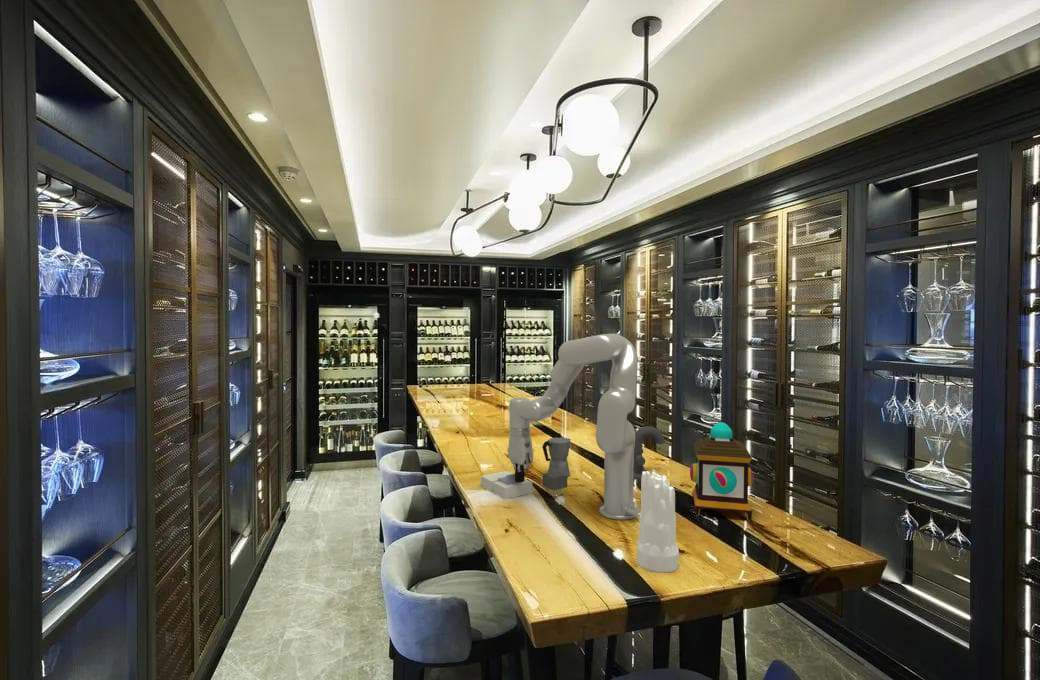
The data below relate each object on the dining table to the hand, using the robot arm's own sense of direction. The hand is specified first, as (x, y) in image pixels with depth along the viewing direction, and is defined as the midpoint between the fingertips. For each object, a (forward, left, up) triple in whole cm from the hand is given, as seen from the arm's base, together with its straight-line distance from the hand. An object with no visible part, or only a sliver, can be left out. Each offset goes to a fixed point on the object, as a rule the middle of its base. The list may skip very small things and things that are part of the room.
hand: (519, 481), depth 193 cm
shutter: (+6, 0, -1) cm, 7 cm away
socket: (+9, 0, -6) cm, 11 cm away
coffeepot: (+12, -26, -6) cm, 29 cm away
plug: (-6, -12, -6) cm, 14 cm away
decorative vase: (-65, -1, -6) cm, 65 cm away
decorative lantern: (-49, -49, -6) cm, 70 cm away
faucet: (-6, -60, -6) cm, 61 cm away
